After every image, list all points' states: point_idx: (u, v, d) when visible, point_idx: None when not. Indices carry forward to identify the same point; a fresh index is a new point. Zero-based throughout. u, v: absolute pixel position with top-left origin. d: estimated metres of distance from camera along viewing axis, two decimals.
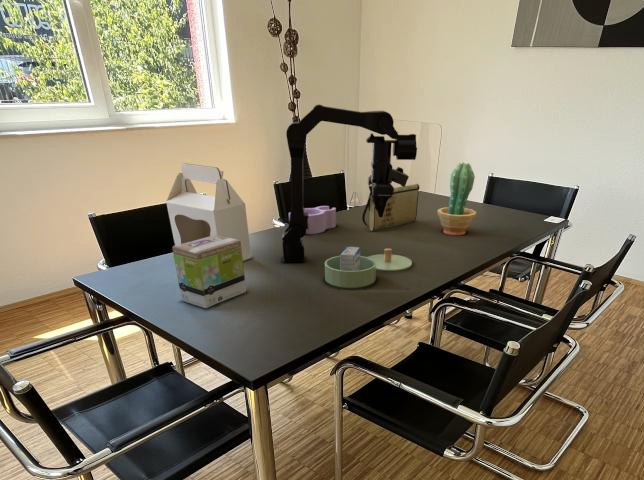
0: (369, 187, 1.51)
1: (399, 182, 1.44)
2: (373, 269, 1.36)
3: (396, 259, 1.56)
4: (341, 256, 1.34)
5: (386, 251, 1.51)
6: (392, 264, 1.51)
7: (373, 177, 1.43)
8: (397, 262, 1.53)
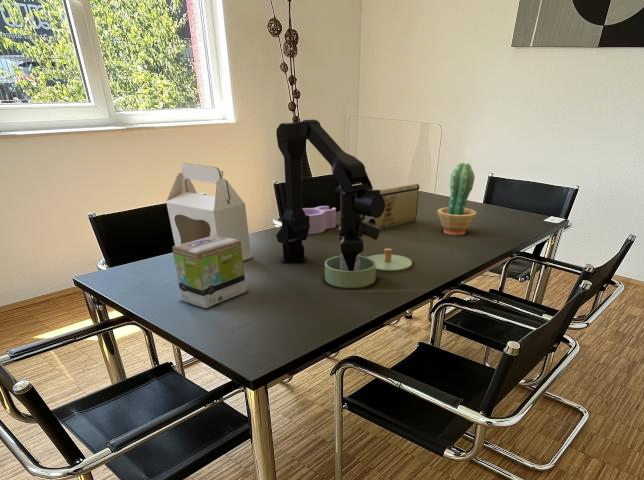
0: None
1: (370, 235, 1.32)
2: (373, 269, 1.36)
3: (396, 259, 1.56)
4: (341, 256, 1.34)
5: (386, 251, 1.51)
6: (392, 264, 1.51)
7: (342, 230, 1.32)
8: (397, 262, 1.53)
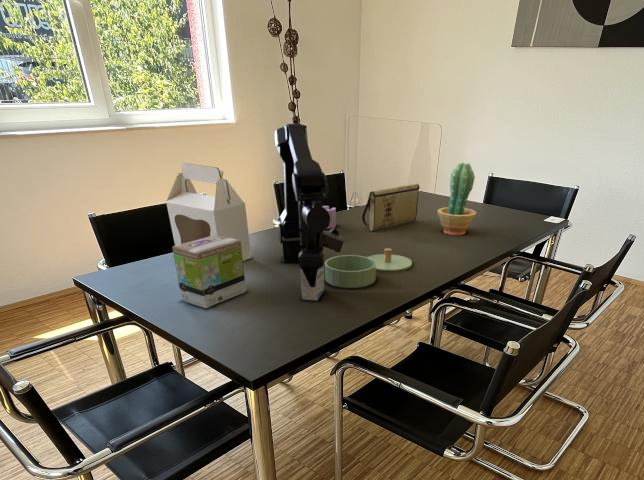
0: (301, 250, 1.29)
1: (332, 247, 1.22)
2: (373, 269, 1.36)
3: (396, 259, 1.56)
4: (301, 271, 1.24)
5: (386, 251, 1.51)
6: (392, 264, 1.51)
7: (301, 242, 1.21)
8: (397, 262, 1.53)
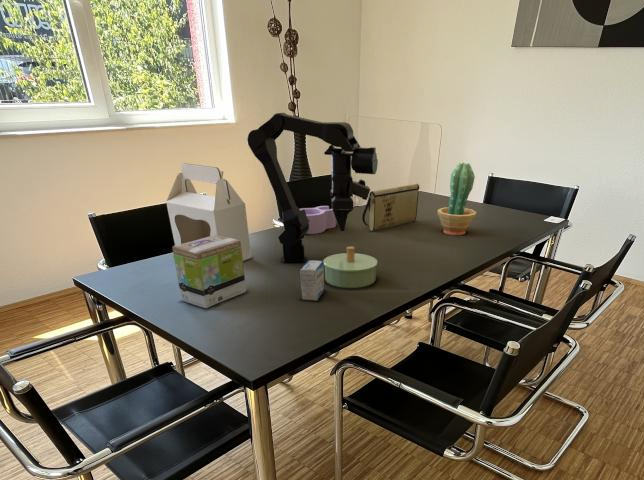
0: (331, 200, 1.46)
1: (360, 195, 1.39)
2: (373, 269, 1.36)
3: (360, 258, 1.41)
4: (301, 271, 1.24)
5: (348, 250, 1.36)
6: (355, 264, 1.36)
7: (333, 190, 1.39)
8: (361, 262, 1.38)
